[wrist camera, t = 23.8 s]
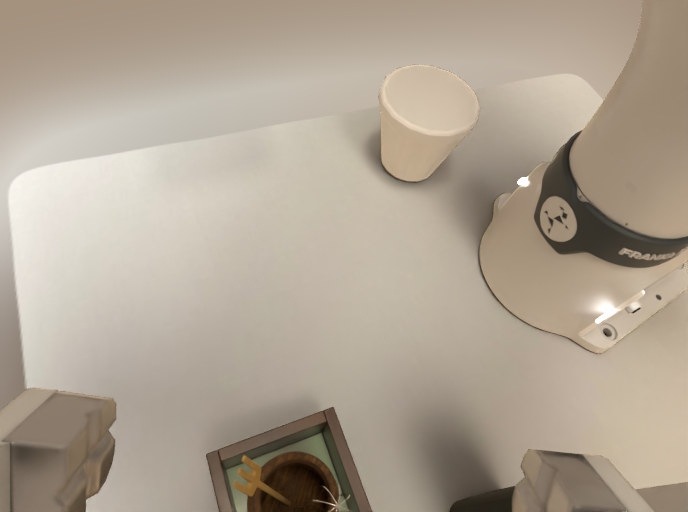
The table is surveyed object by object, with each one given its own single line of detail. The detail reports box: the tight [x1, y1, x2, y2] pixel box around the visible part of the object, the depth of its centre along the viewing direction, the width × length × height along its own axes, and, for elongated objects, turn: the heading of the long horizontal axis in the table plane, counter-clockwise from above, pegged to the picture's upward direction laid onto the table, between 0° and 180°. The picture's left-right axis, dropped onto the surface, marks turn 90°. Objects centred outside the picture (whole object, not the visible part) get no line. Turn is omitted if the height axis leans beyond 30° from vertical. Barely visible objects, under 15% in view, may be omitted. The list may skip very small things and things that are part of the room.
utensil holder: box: [233, 451, 352, 512], centre depth 29 cm, size 6×6×12 cm
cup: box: [378, 64, 480, 182], centre depth 50 cm, size 10×10×9 cm
